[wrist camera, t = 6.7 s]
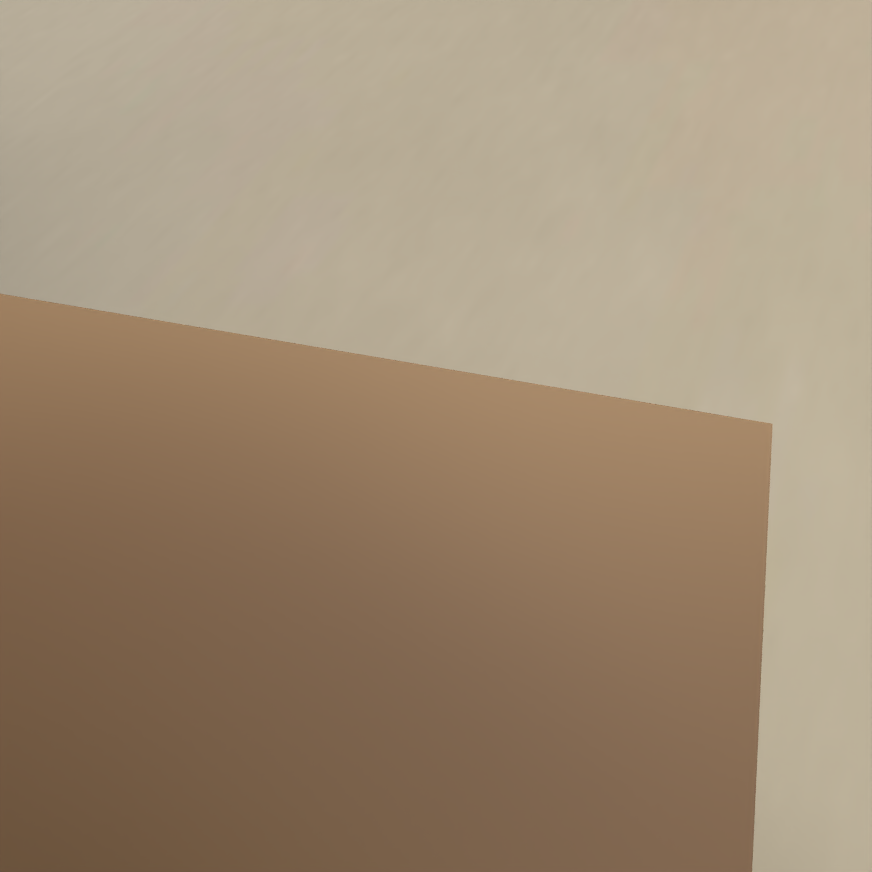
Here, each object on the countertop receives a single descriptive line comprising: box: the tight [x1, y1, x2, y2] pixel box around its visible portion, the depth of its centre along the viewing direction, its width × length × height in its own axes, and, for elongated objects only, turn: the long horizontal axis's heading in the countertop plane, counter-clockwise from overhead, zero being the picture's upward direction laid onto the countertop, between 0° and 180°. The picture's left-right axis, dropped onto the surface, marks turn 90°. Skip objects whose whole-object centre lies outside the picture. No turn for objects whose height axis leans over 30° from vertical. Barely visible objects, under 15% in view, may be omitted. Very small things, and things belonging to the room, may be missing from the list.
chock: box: [0, 294, 772, 872], centre depth 9 cm, size 6×6×12 cm
